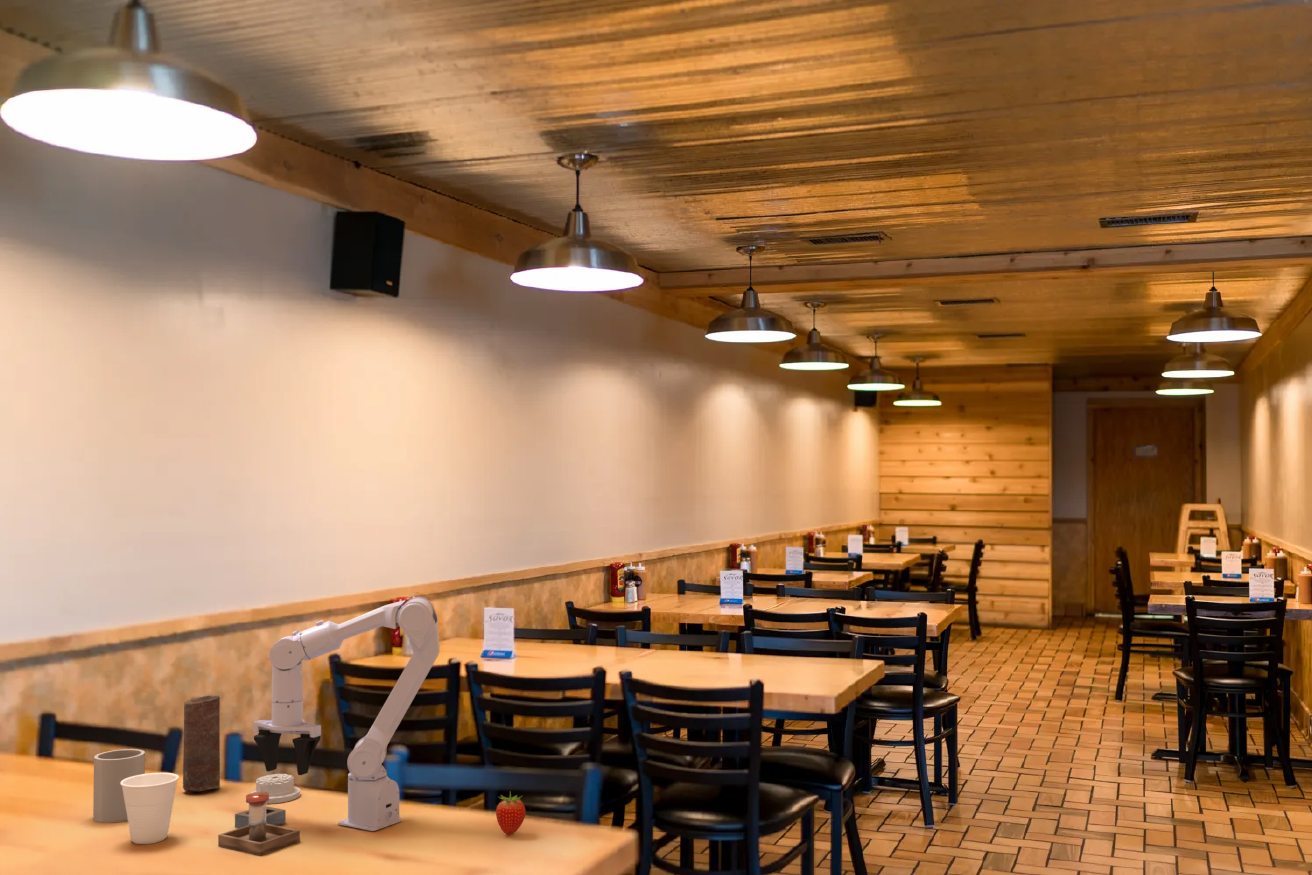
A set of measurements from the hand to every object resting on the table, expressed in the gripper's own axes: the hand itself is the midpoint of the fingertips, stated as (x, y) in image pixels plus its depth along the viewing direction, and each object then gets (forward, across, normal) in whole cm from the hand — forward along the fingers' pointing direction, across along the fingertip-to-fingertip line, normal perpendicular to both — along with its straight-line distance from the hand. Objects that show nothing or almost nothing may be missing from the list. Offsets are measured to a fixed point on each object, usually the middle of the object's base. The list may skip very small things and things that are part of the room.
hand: (287, 772), depth 219 cm
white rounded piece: (+11, +16, -15) cm, 25 cm away
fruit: (+10, -43, -11) cm, 45 cm away
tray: (+10, -3, +10) cm, 15 cm away
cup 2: (+10, +18, +16) cm, 26 cm away
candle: (+10, +35, -13) cm, 38 cm away
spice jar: (+10, -2, +10) cm, 14 cm away
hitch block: (+10, +5, +1) cm, 12 cm away
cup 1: (+10, +36, +7) cm, 38 cm away
